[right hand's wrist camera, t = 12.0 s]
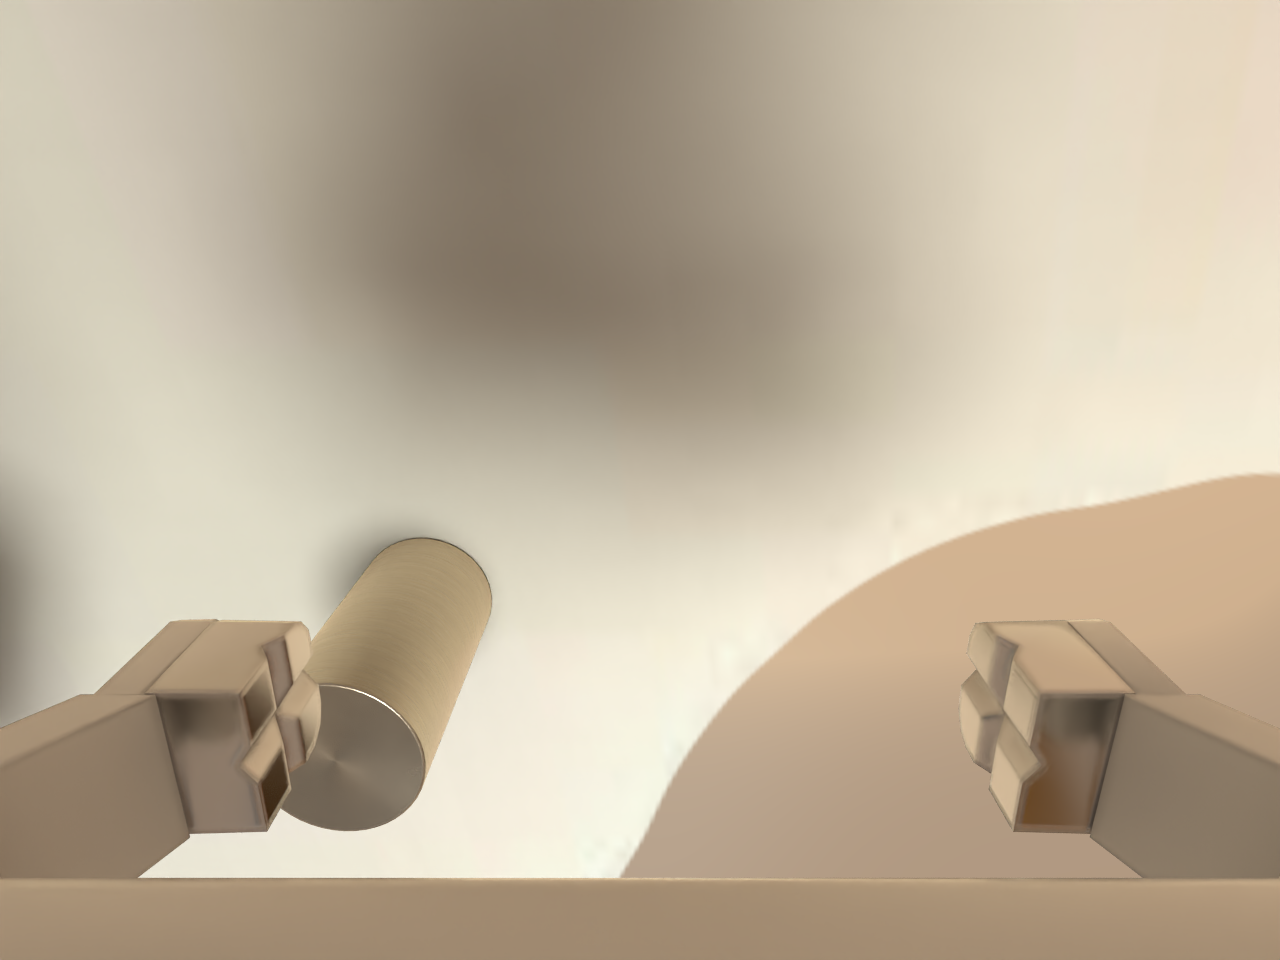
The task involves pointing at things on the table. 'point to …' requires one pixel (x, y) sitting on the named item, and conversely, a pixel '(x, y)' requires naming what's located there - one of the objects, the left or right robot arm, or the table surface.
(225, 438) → the table surface
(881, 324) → the table surface
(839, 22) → the table surface
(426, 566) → the canister
